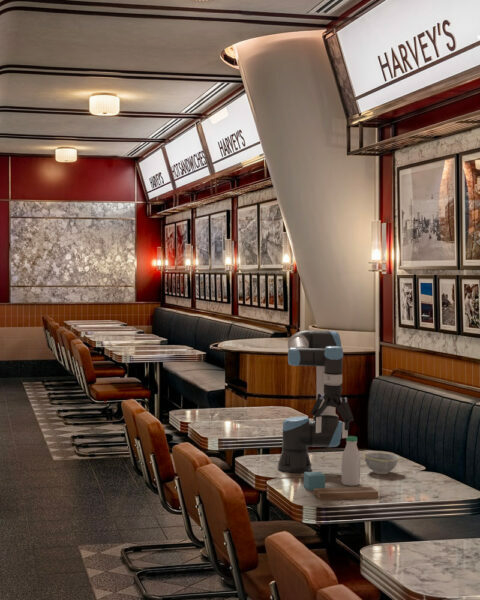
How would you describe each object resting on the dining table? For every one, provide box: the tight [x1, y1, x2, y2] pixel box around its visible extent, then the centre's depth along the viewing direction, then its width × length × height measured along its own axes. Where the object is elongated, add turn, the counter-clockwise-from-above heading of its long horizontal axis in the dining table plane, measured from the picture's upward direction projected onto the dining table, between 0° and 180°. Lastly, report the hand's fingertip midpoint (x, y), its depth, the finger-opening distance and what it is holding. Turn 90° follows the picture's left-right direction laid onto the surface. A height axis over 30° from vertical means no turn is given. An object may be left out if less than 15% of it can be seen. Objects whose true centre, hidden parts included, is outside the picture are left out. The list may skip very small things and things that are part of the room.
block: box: [303, 471, 326, 491], centre depth 363 cm, size 7×7×6 cm
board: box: [313, 486, 379, 501], centre depth 351 cm, size 8×24×2 cm, turn 102°
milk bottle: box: [340, 435, 361, 487], centre depth 372 cm, size 8×8×20 cm
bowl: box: [363, 452, 400, 475], centre depth 395 cm, size 16×16×8 cm
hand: (331, 435), depth 364 cm, fingers open, 13 cm apart
